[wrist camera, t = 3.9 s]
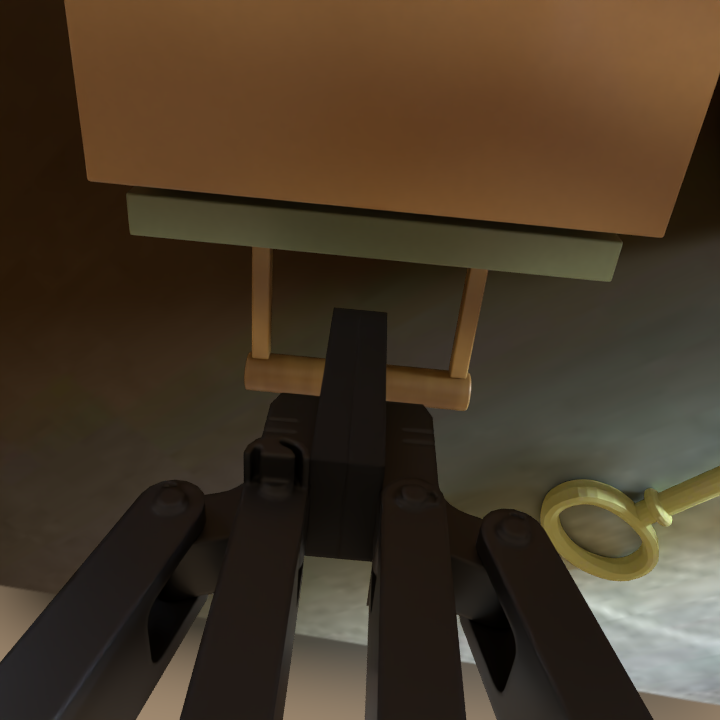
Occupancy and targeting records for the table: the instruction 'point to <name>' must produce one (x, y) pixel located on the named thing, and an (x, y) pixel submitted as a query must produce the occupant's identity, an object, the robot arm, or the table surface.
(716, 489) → the key
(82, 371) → the table surface
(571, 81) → the cabinet
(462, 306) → the drawer
